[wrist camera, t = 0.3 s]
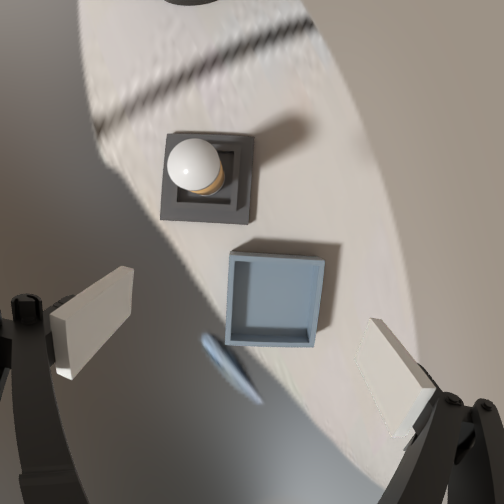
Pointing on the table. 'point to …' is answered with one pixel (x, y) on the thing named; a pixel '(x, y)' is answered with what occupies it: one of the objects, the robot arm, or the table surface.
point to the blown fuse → (196, 167)
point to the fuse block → (227, 198)
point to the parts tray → (273, 299)
